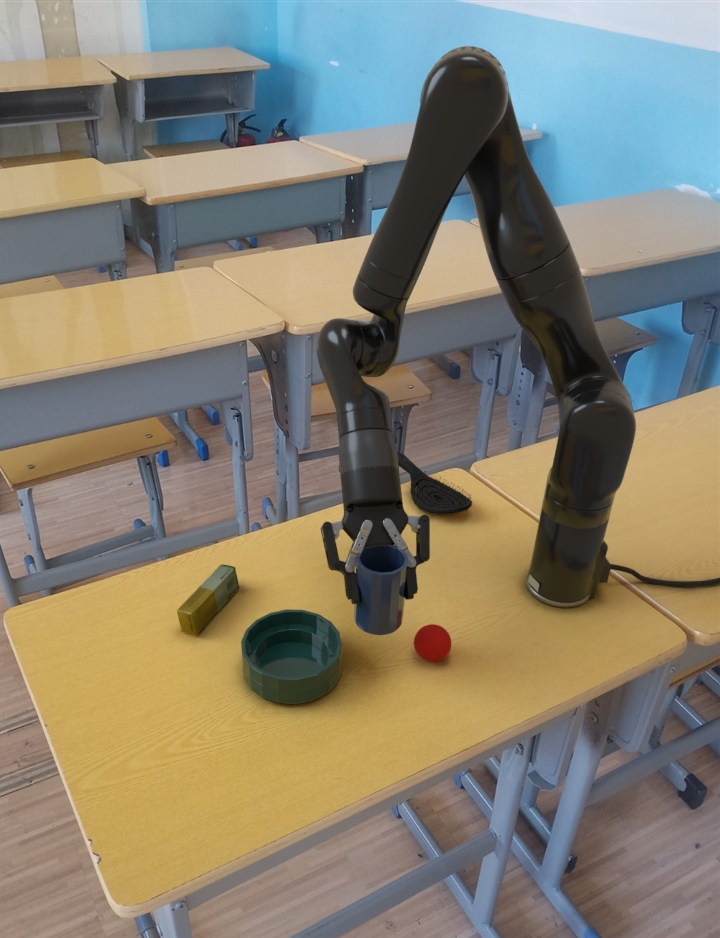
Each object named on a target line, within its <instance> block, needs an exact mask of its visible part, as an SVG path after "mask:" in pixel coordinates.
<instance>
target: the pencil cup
mask: <svg viewBox="0 0 720 938" xmlns="http://www.w3.org/2000/svg"><path fill="white" fill-rule="evenodd" d="M389 546H390V547H385V548H384V547H379V546H378V547H375V548H371V549H367V548H368V547H364V548H363V551H362V553H358V555H357V560H356V567H355V573H357V581H358V591H359V603H358V604H354V611H353V615H354V622H355V624H356V626H357V627H358V629H360V630H361V631H362V632H365V633H367V634H369V635H373V636H374V635H375V636H387V635H390V634H393V633H394V632H396V631H398V630H399V629H400V627H401V626H402V624H403V618H404V611H405V601H406V599H405V589H406V578H407V567H408V558H407V555H406V553H405V552H404V551H403V550H402V549H400V550H399V549H398V548H397V547H396V546H395V545H389Z"/></svg>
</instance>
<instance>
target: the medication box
mask: <svg viewBox="0 0 720 938" xmlns="http://www.w3.org/2000/svg"><path fill="white" fill-rule="evenodd" d="M239 589H240V584H239V579H238V575H237V569H236V566H233V565H230V564H220V565H219V566H218V567H216V569H214V571H213V572H212V573H211V574H210V576H208V577H207V578H206V579H205V580H204V581H203V583H201V585H200V586H199V587H198V588H197V589H196V590H195V591H194V592H193V593H192V594H191V595H190V596H189V597H188V598H187V599H186V600H185V601H184V602H183V603H182V604H181V606H179V607H178V608H177V609H176V613H177V618H178V621H179V625H180V628H181V630H180V631H181V633H185V634H188V635H193V636H197V635H198V634H199V633H200V632H201V631H202V630H203V629H204V627H206V625H207V624H208V623H209V622H210V621H211V620H212V619H213V618H214V616H215V615H216V614H217V613H218V612H219V611H220V610H221V609H222V608H223V607H224V606H225V605H226V603H227V602H228V601H229V600H230V599H231V598H232V597H233V596H234V595H235V594H236V592H237V591H238V590H239Z"/></svg>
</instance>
